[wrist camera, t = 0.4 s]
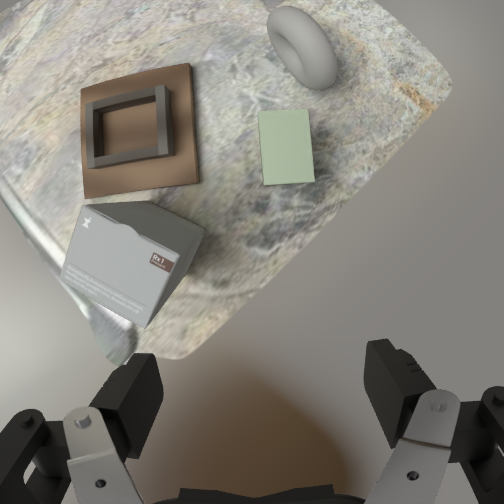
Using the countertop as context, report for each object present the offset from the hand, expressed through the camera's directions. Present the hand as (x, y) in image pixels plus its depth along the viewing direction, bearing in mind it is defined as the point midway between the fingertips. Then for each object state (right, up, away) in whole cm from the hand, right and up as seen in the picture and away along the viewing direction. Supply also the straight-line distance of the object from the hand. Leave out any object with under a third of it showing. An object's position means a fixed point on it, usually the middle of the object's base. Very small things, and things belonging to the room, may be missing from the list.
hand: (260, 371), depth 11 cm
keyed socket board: (-14, +18, +23) cm, 32 cm away
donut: (+5, +26, +21) cm, 33 cm away
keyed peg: (+3, +15, +23) cm, 27 cm away
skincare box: (-10, +6, +25) cm, 28 cm away
